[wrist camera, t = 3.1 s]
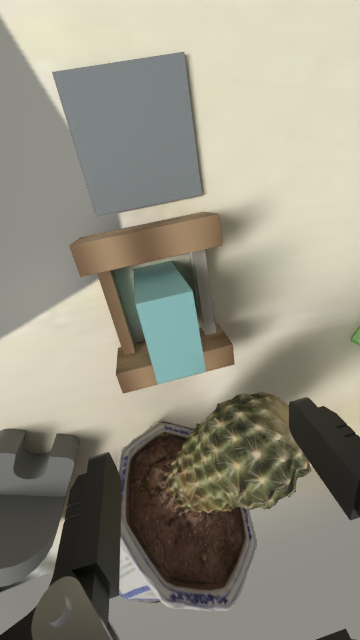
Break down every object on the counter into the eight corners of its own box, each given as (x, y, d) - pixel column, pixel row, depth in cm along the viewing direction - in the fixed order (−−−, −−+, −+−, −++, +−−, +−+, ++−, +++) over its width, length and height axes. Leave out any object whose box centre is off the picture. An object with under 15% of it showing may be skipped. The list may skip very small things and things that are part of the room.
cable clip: (81, 434, 34) (62, 525, 25) (57, 517, 40) (35, 616, 31) (0, 426, 31) (-58, 525, 22) (-12, 516, 38) (-61, 625, 28)
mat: (183, 54, 20) (184, 51, 20) (201, 195, 24) (202, 195, 24) (53, 74, 19) (52, 71, 19) (96, 216, 24) (95, 216, 23)
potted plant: (207, 627, 32) (454, 577, 16) (57, 625, 26) (209, 547, 11) (196, 474, 46) (322, 369, 30) (98, 453, 41) (188, 313, 25)
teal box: (171, 260, 27) (193, 290, 18) (183, 320, 30) (206, 371, 21) (132, 269, 26) (134, 304, 17) (148, 328, 29) (157, 384, 20)
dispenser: (203, 211, 25) (219, 214, 21) (219, 341, 32) (234, 364, 27) (80, 237, 24) (69, 245, 20) (123, 365, 31) (122, 393, 26)
